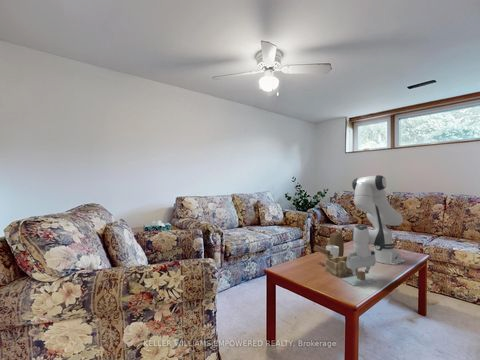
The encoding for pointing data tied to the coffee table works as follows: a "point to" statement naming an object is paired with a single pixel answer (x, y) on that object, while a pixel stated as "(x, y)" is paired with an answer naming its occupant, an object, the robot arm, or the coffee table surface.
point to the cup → (333, 250)
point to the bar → (322, 250)
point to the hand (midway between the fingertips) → (360, 274)
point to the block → (337, 242)
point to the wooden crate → (337, 266)
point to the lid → (358, 279)
